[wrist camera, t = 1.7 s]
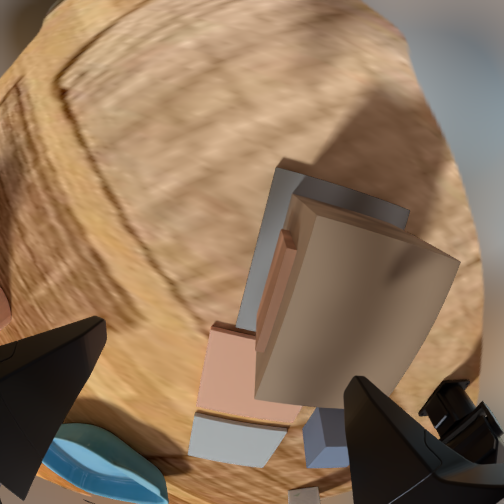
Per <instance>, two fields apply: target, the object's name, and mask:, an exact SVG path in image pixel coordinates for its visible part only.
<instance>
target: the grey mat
mask: <svg viewBox="0 0 504 504" xmlns="http://www.w3.org/2000/svg"><path fill="white" fill-rule="evenodd" d="M286 433H287V428H281V427H272V426H265V425H257V424H251V423H245V422H239V421H233V420H228V419H223V418H218V417H214V416H209V415H205V414H201V413H196V412H195V416H194V421H193V427H192V433H191V439H190V445H189V451H188V455H190V456H195V457H199V458H204V459H208V460H213V461H219V462H224V463H230V464H236V465H243V466H251V467H260V468H263V467H264V465H265V464H266V463H267V461H268V460H269V458H270V457H271V455H272V454H273V453H274V451H275V450H276V448H277V447H278V445H279V444H280V442H281V441H282V439H283V437H284V436H285V434H286Z"/></svg>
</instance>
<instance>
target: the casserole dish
mask: <svg viewBox="0 0 504 504" xmlns="http://www.w3.org/2000/svg"><path fill="white" fill-rule="evenodd" d="M42 463H43V464H45V465H46V466H47V467H48V468H49V469H51V470H52V471H53V472H55V473H56V474H58V475H59V476H61V477H62V478H64V479H65V480H67V481H68V482H70V483H72V484H73V485H75V486H77V487H79V488H81V489H83V490H85V491H87V492H90V493H92V494H96V495H99V496H103V497H107V498H112V499H116V500H121V501H127V502H132V503H139V504H168V503H169V501H168V494H167V487H166V482H165V479H164V476H163V474H162V473H161V472H160V470H159V469H158V468H157V467H156V466H154V465H153V464H152V463H151V462H149V461H148V460H147V459H145V458H144V457H143V456H141V455H140V454H139V453H137V452H136V451H135V450H133V449H132V448H131V447H130V446H128V445H127V444H126V443H124V442H123V441H122V440H121V439H119V438H118V437H117V436H115V435H114V434H112V433H111V432H109V431H107V430H105V429H103V428H100V427H98V426H94V425H90V424H82V423H70V424H61V426H60V428H59V430H58V432H57V434H56V435H55V437H54V439H53V441H52V443H51V445H50V447H49V449H48V451H47V453H46V455H45V457H44V459H43V461H42Z"/></svg>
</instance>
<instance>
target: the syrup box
mask: <svg viewBox="0 0 504 504" xmlns="http://www.w3.org/2000/svg"><path fill="white" fill-rule="evenodd" d="M288 504H320V496H319V489H318V487H311V488H303V489H296V490H289V491H288Z"/></svg>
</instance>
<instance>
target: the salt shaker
mask: <svg viewBox="0 0 504 504" xmlns="http://www.w3.org/2000/svg"><path fill="white" fill-rule="evenodd" d="M10 321H11V311H10V306H9V303H8V300H7V298H6V296H5V294H4V292H3V290H2V289H1V287H0V330H1V329H3V328H4V327H5V326H6V325H7V324H9V323H10Z"/></svg>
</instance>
